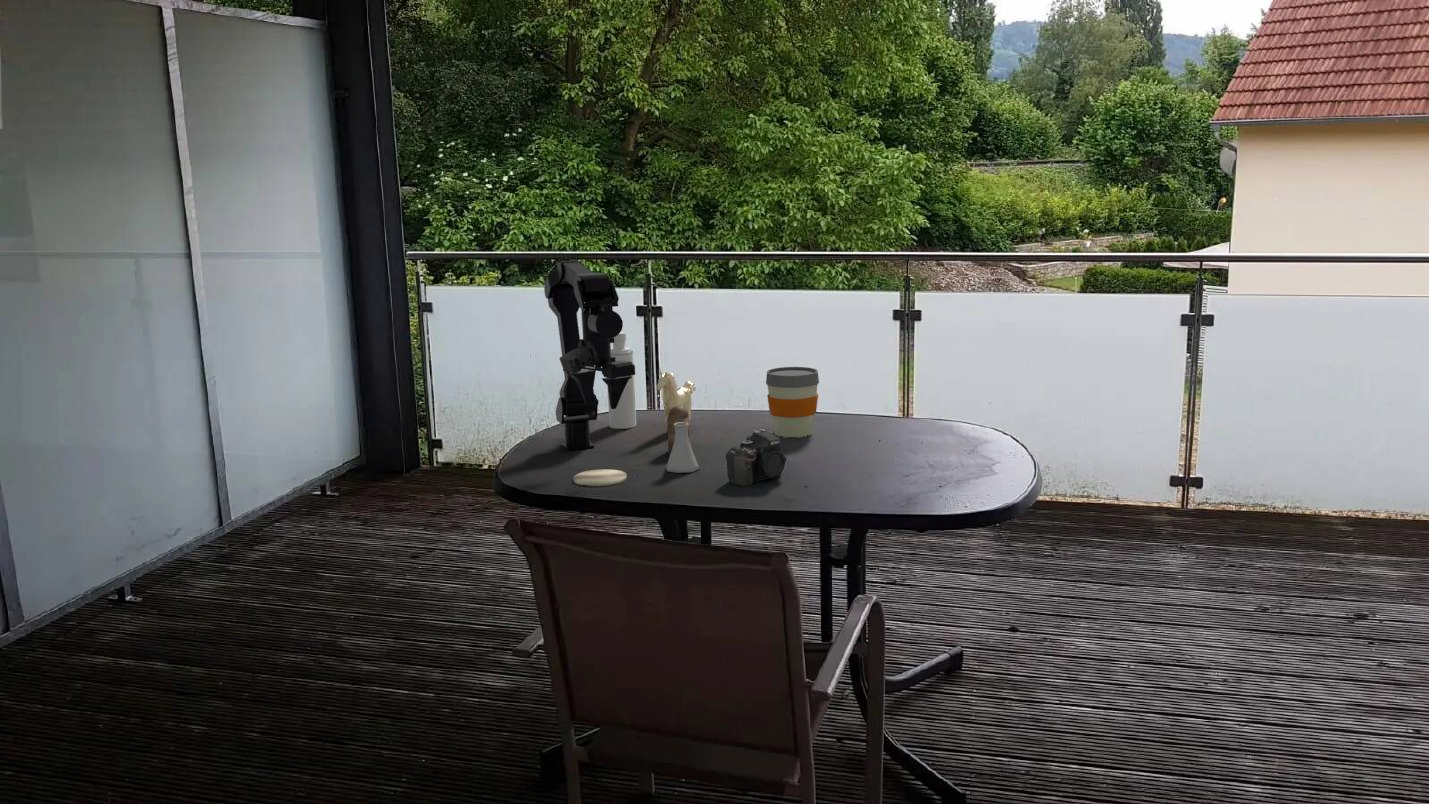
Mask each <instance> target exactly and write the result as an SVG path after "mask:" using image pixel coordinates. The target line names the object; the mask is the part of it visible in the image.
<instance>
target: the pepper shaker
mask: <svg viewBox="0 0 1429 804" xmlns="http://www.w3.org/2000/svg"><path fill="white" fill-rule="evenodd" d="M678 422H686V423H688V424H689V426H688V428H687V430H688V437H689V442H690V443H691V424H690V423H691V418H690V419H689V416H688V412H687V410H686V409H685V408H684V407H682V406H675V407H673V408H671V409H670V411H669V413H668V417H667V426H666V427H667V444H668V447H667V448H668V454H671V451H672V448H673V444H674V440H675V427H674V424H675V423H678Z"/></svg>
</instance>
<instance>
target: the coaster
mask: <svg viewBox="0 0 1429 804" xmlns="http://www.w3.org/2000/svg"><path fill="white" fill-rule="evenodd" d="M627 478H628V474H627V473H626V472H625V471H623V470H618V469H607V468H603V469H602V468H601V469H593V470H592V469H591V470H585V471H582V472H579V473H577V474H575V475H574V476H573V482H574V483H575V484H576V485H578V486H583V485H588V486H587V487H607V486H613V485H617V484H618V485H619V484H621V483H623V482H625V481H627Z"/></svg>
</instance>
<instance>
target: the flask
mask: <svg viewBox="0 0 1429 804" xmlns="http://www.w3.org/2000/svg"><path fill="white" fill-rule="evenodd" d="M688 426H689V424H688V423H686V422H678V423H675V424H674V427H675V440H674V444H673V448H672V451H671V453H670V454H669V458H668V461H667V464H666V467H665V468H666V471H667V472H669V473H675V474H676V473H677V474H681V473H694V472H695V471H698V470H700V467H699V464H698V461H697V459H696V456H695V453H694V451H693V447H692V445H691V441H690V442H689V437H688V430H687V428H688Z"/></svg>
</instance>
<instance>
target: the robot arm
mask: <svg viewBox="0 0 1429 804" xmlns="http://www.w3.org/2000/svg"><path fill="white" fill-rule="evenodd" d="M543 288H544V289H543V290H544V296H545V299H547V303H548V308H549V309H550V310H551V311H552V312H553V314H554V315H555V316H556V317H557V318H556V319H557V326H558V327H557V328H558V332H559V333H558V334H559V341H560V349H561V350H560V351H561V356H560V357H559V361H560V364H561V366H562V371H563V374H564V381H563V383H562V385H561V387H560V390H559V398H558V400H557V403H556V404H557V405H556V407H555V417H556V421H557V422H558V423H560V424H561V425H564V440H565V441H563V442H561V446H562V447H563V448H564V449H565V450H567V451H573V450H581V449H589V448H591V449H592V448H595V444H594V443H593V442H592V441H591V433H590V421H597V420H598V407H599V401H600V400H599V399H598V397H597V395H596V393H595V391H594V387H595V386H594V385H595V380H596V379H595V378H596V372H601V374H602V376H603V377H604V378H603V377H602V378H601V380H602V381H603V382H604V383H605V384H606V386H607V395H608V394H609V401H610V406H611V409H616V407H617V405H618V402H619V400H620V398H621V395H622V393H623V390H624V388H625V386H626V384H627V382H628V380H629V379H631V378H632V376H631V375H634V376H635V375H636V365H635V364H633V363H632V362H629V361H615V357H611V348H612V347H611V344H613V343H614V337H616V336H617V335H618V334H619V333H620V332H622V330H623V326H624V325H623V324H624V322H623V319H622V317H621V316H620V314H619V313H618V312H616V311H614V310H613V309H614V307H619V300H620V298H619V295H618V293H617V290H616V286H615V284H614V282H613V280H612V278H610V276H609V275H608V274H607V273H604V272H592V271H591V270H590V269H588V267H586V266H585V265H583V263H582V261H581V260H580V261H579V260H576V259H575V260H562V261H560V262H559V261H558V263H557V266H556V268H555V269H553V271H551V272H549V274H547V276H546V279H545V282H544V287H543ZM579 309H580V310H581V311H580V312H581V313H580V314H581V328H582V338H581V337H580V328H579V321H578V312H579ZM580 338H581V339H580Z"/></svg>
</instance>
